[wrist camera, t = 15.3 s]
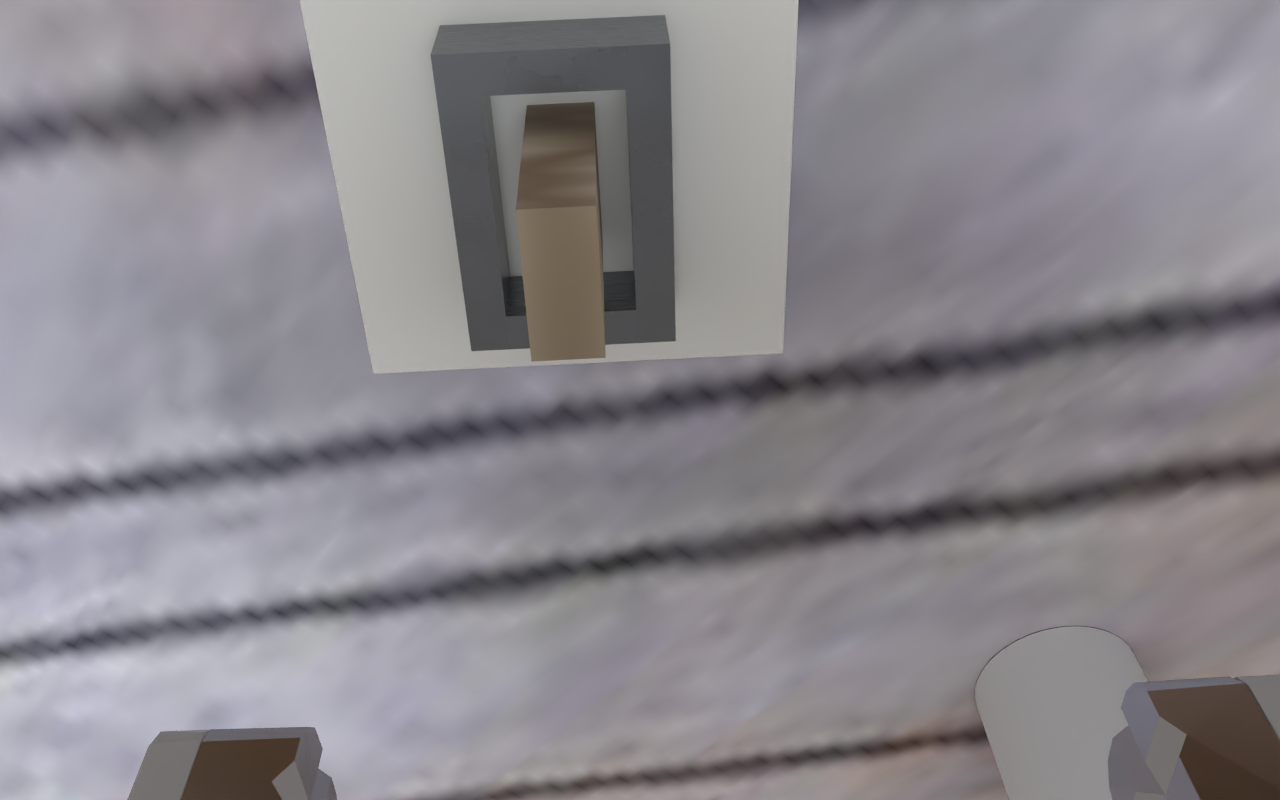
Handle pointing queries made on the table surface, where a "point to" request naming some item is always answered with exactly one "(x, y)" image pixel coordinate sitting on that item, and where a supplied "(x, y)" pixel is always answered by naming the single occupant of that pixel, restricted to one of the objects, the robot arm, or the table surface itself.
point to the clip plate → (701, 158)
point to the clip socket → (464, 82)
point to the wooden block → (561, 232)
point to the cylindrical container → (1056, 711)
